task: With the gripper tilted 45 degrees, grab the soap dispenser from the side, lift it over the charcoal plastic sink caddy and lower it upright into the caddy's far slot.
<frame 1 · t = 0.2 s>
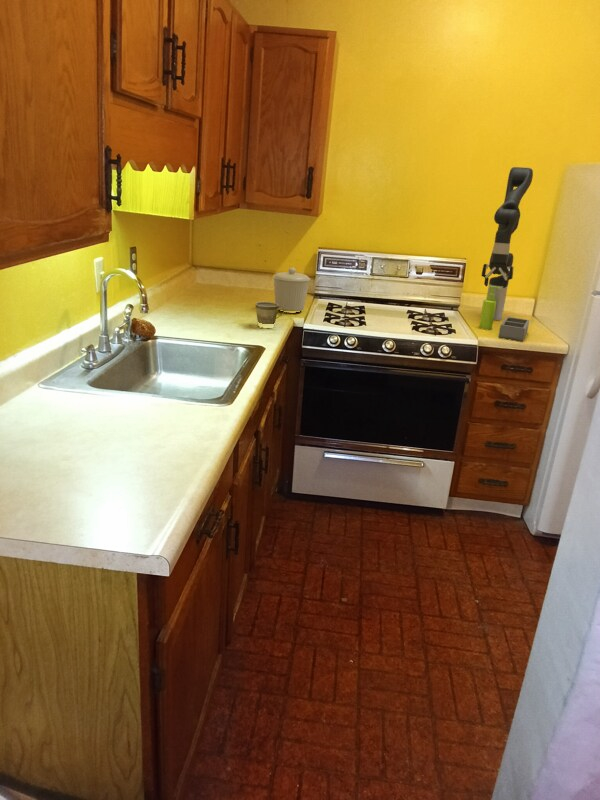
hand: (495, 287, 299), 18 cm above the countertop, tool pointing down, fingers open, 8 cm apart
soap dispenser: (486, 328, 294), on the countertop
canister: (289, 311, 300), on the countertop
ceramic cup: (269, 327, 267), on the countertop
caddy: (513, 335, 284), on the countertop
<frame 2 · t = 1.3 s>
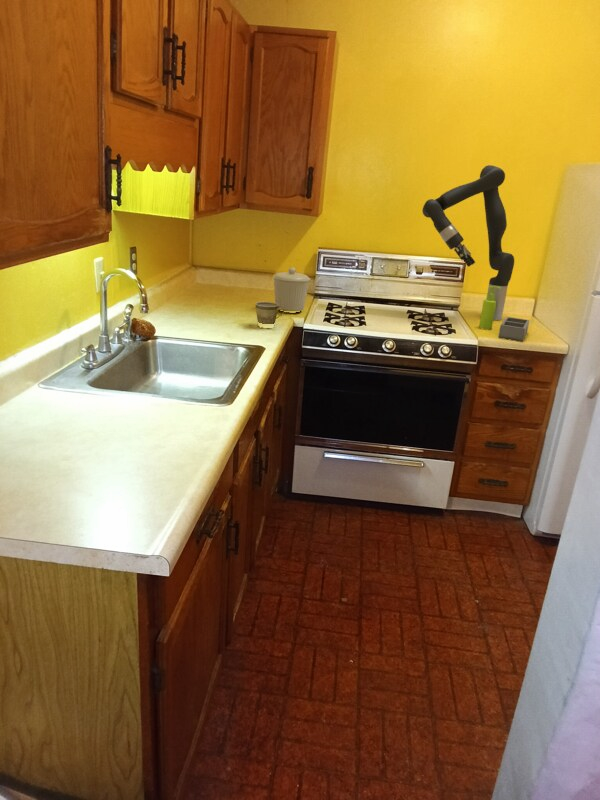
hand: (472, 264, 288), 29 cm above the countertop, tool tilted 45°, fingers open, 8 cm apart
nothing on the countertop moved.
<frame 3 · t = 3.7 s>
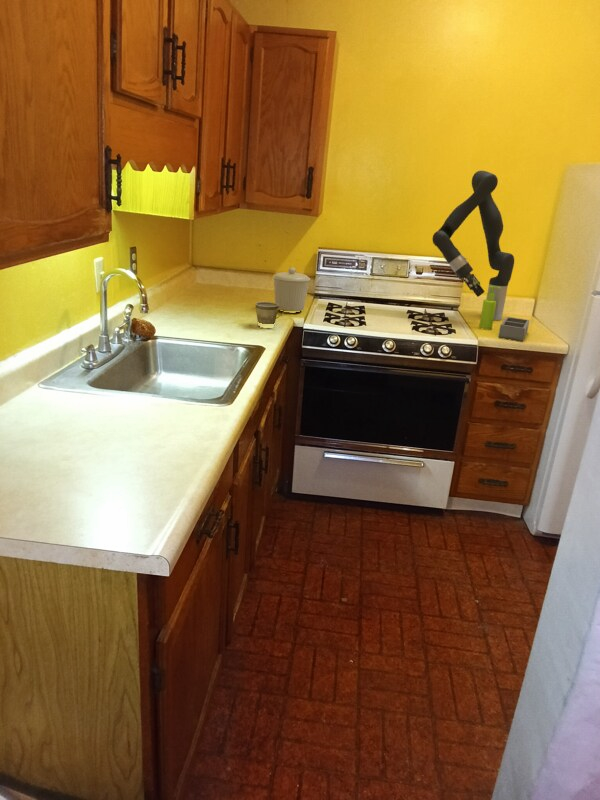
hand: (481, 294, 291), 15 cm above the countertop, tool tilted 45°, fingers open, 8 cm apart
nothing on the countertop moved.
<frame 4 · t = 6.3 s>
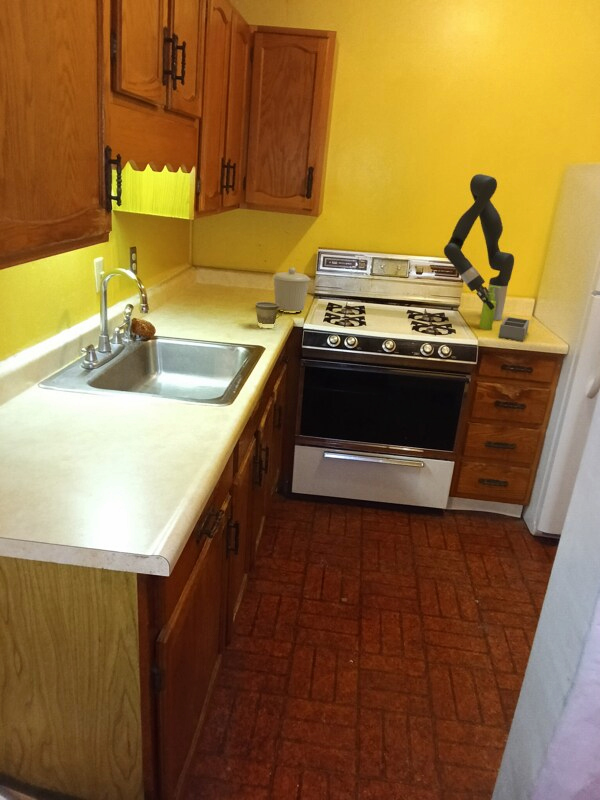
hand: (493, 307, 290), 10 cm above the countertop, tool tilted 45°, fingers closed on soap dispenser, 6 cm apart
soap dispenser: (486, 328, 294), on the countertop, touching gripper
everything else where it was.
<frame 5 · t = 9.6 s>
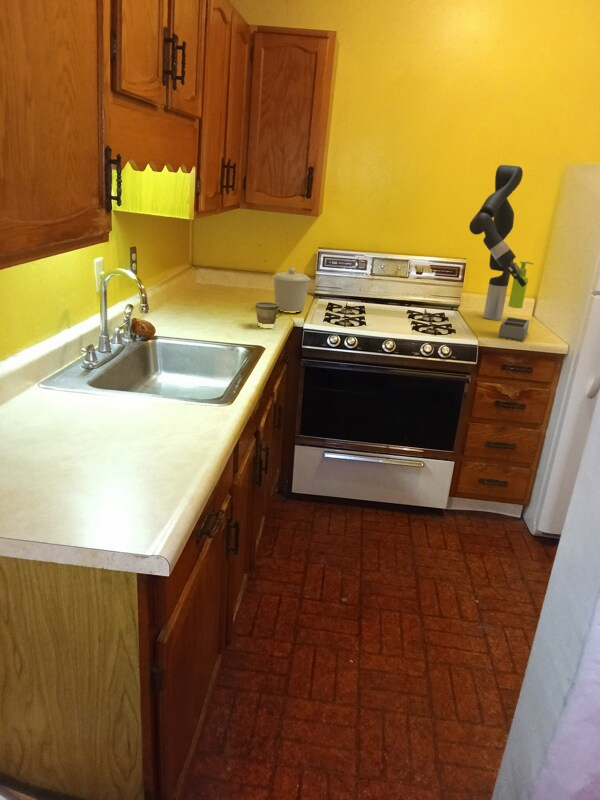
hand: (525, 284, 271), 24 cm above the countertop, tool tilted 45°, fingers closed on soap dispenser, 6 cm apart
soap dispenser: (516, 307, 275), point 14 cm above the countertop, touching gripper
everything else where it was.
when the fingers open (12 cm above the countertop, at t = 13.4 s): soap dispenser stays where it is, resting on caddy.
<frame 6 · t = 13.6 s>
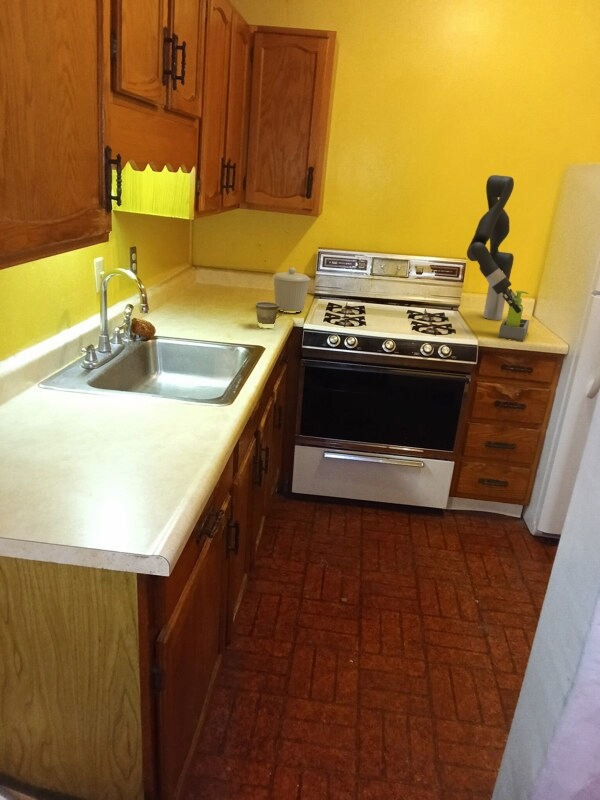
hand: (520, 310, 275), 12 cm above the countertop, tool tilted 45°, fingers open, 7 cm apart
soap dispenser: (511, 335, 280), point 1 cm above the countertop, touching caddy
everything else where it was.
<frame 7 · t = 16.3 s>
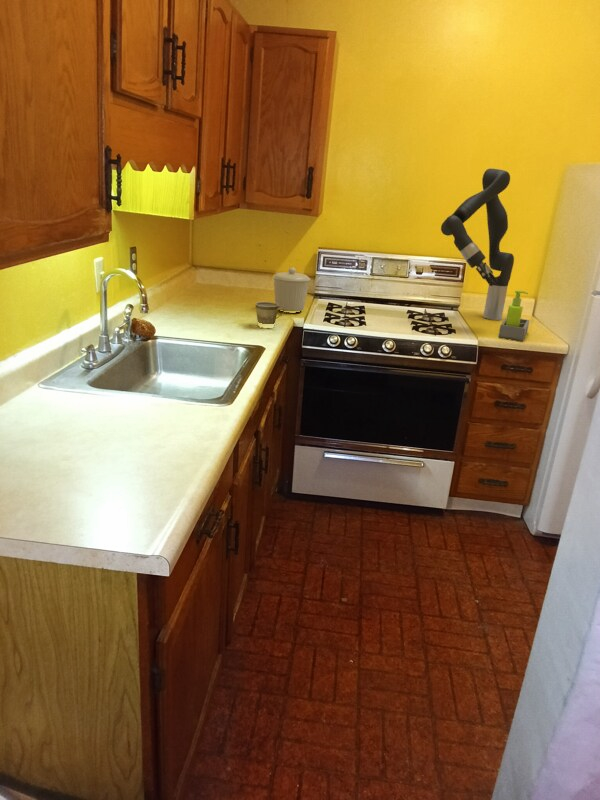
hand: (494, 283, 276), 23 cm above the countertop, tool tilted 45°, fingers open, 8 cm apart
nothing on the countertop moved.
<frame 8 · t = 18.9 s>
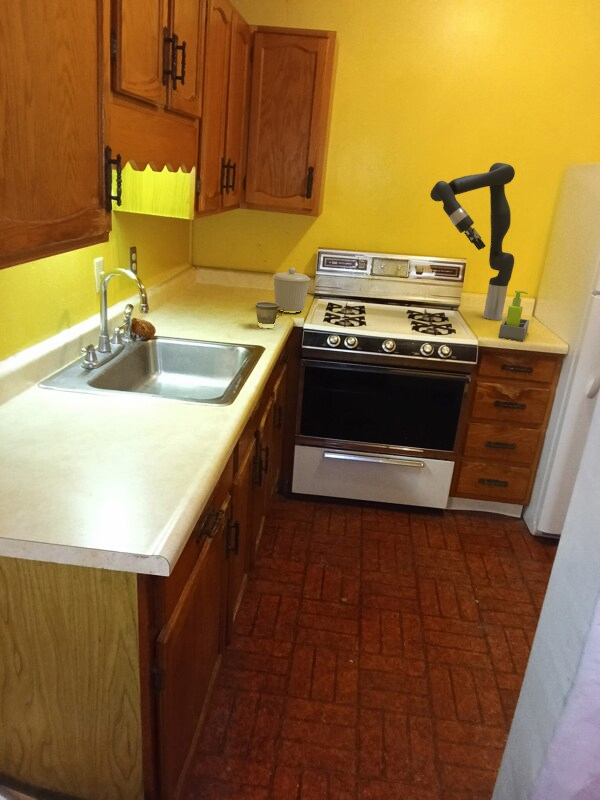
hand: (482, 248, 283), 37 cm above the countertop, tool tilted 45°, fingers open, 8 cm apart
nothing on the countertop moved.
at the end: soap dispenser 0.3 cm from the target spot on the caddy, point 0.8 cm above the caddy's base; soap dispenser tilted 0°; the gripper is holding nothing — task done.
